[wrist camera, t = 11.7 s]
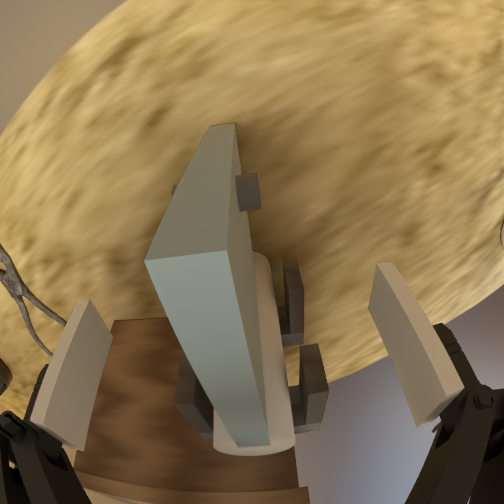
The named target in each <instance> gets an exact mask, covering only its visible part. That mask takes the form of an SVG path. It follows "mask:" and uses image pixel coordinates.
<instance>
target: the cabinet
mask: <svg viewBox="0 0 504 504" xmlns="http://www.w3.org/2000/svg"><path fill="white" fill-rule="evenodd" d="M283 273H284V289H285V305H286V306H283V307H277V312H278V319H279V326H280V332H281V339H282V346H283V347H285V346H292V345H300V344H303V341H304V287H303V284H302V280H301V276H300V273H299V269H298V265H297V262H296V261H294V262H286V263H283ZM110 332H111V334H112V335H113V339H112V342H111V345H110V349H109V352H108V355H107V358H106V362H105V365H104V369H103V372H102V376H101V379H100V383H99V387H98V390H97V394H96V398H95V402H94V406H93V410H92V414H91V419H90V423H89V428H88V432H87V437H86V442H85V447H84V451H80V450H77V452H76V457H75V462H74V467H73V469H74V471H75V473H76V475H77V477H78V479H79V481H80V483H81V485H82V487H83V489H85V490H87V491H90V492H93V493H95V494H98V495H101V496H104V497H107V498H110V499H113V500H116V501H120V502H124V503H128V504H310V500H309V492H308V486H307V487H300V488H299V484H298V475H297V467H296V459H295V450H294V446H293V447H291V448H289V449H287V450H285V451H282V452H278V453H274V454H268V455H260V456H238V455H231V454H226V453H222V452H220V451H217V450H216V449H215V448H214V447H213V428H214V407H213V405H212V403H211V401H210V400H209V398H208V396H207V394H206V392H205V391H204V389H203V387H202V385H201V383H200V381H199V379H198V378H197V376H196V374H195V372H194V370H193V368H192V366H191V364H190V362H189V360H188V358H187V356H186V354H185V352H184V350H183V348H182V346H181V344H180V342H179V340H178V338H177V336H176V334H175V332H174V330H173V327H172V325H171V323H170V321H169V319H168V318H156V319H139V320H119V321H114V323H113V326H112V328H111V331H110ZM288 388H289V396H290V403H291V411H292V418H293V426H294V433H295V434H297V433H304V432H310V431H315V430H320V427H321V423H322V419H323V415H324V411H325V407H326V402H327V398H328V394H329V388H328V384H327V379H326V375H325V371H324V366H323V362H322V358H321V354H320V350H319V346H318V344H312V345H305V346H300V372H299V385H296V386H289V387H288Z"/></svg>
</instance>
